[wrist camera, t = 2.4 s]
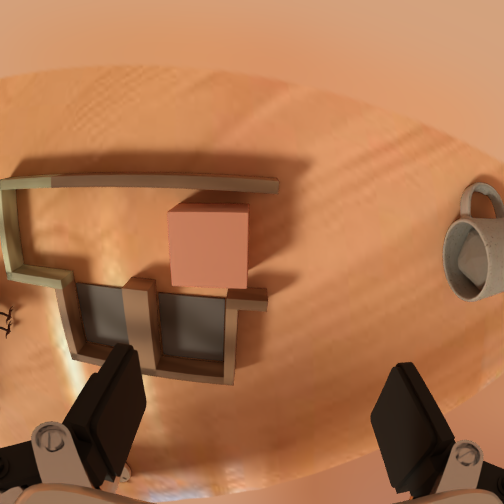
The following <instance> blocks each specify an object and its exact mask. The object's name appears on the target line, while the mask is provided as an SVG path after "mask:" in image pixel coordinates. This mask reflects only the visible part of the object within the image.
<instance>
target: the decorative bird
mask: <svg viewBox="0 0 504 504" xmlns="http://www.w3.org/2000/svg"><path fill="white" fill-rule="evenodd" d="M11 308H12V307H11ZM11 308H10V310H9V314H8V315H7V314H5V313H3V312H0V314H2V315H5V316H7V320H6V323H7V321H8V320H10V318H12V317H11V311H12V310H13V309H12V310H11ZM10 322H11V321H10ZM10 325H11V324H10V323H9V324H8V329H5V328H3V327H0V329H3V330H5V331H7V333H6V336H7V335H8V334H9V333H10V332H11V331H10ZM6 339H7V338H6Z"/></svg>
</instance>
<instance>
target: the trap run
mask: <svg viewBox="0 0 504 504" xmlns="http://www.w3.org/2000/svg"><path fill="white" fill-rule="evenodd" d="M59 187H152V188H184V189H206V190H225V191H241V192H255V193H269V194H278V190H279V180H278V179H277V178H268V177H255V176H240V175H223V174H201V173H169V172H100V173H70V174H50V175H34V176H21V177H10V178H5V179H1V180H0V239H1V246H2V252H3V258H4V264H5V269H6V274H7V279H8V280H12V281H17V282H22V283H28V284H33V285H39V286H44V287H50V288H55V292H56V297H57V302H58V306H59V311H60V315H61V320H62V324H63V328H64V332H65V336H66V339H67V343H68V347H69V350H70V354H71V357H72V359H73V360H77V361H81V362H85V363H89V364H94V365H98V366H102V365H103V363H104V362H105V360H106V359H107V357H108V356H109V354H110V352H111V351H112V349H113V348H114V347H109V346H115V345H116V343H122V344H128V345H132V346H133V348H134V350H137V351H138V355H139V361H140V368H141V374H144V375H150V376H156V377H163V378H169V379H177V380H184V381H192V382H201V383H211V384H221V385H233V386H234V375H235V360H236V342H237V325H238V310H248V311H263V312H267V305H268V296H267V289H262V288H248V287H247V289H238V288H228V293H227V298H226V322H225V352H224V362H216V361H223V345H224V314H225V298H214V297H202V296H191V295H180V294H170V293H160V292H159V308H160V321H161V333H162V344H163V353H164V355H171V356H179V357H187V358H196V359H205V360H196V359H187V358H179V357H171V356H164V355H162V354H161V344H160V334H159V323H158V311H157V298H156V281H155V280H152V279H142V278H133V277H131V278H130V280H129V281H128V282H127V283H126V284H125V285H124V286H123V287H122V288H115V287H107V286H99V285H92V284H84V283H76V287H77V293H78V299H79V304H80V310H81V315H82V320H83V324H84V329H85V333H86V338H87V341H88V342H86V338H85V334H84V329H83V325H82V320H81V315H80V310H79V305H78V300H77V294H76V288H75V282H74V275H73V271H71V270H63V269H55V268H47V267H40V266H32V265H25V264H24V260H23V254H22V248H21V241H20V233H19V224H18V214H17V202H16V189H30V188H59ZM89 342H93V343H98V344H103V345H108V346H103V345H98V344H93V343H89ZM206 360H216V361H206Z"/></svg>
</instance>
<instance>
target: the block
mask: <svg viewBox="0 0 504 504" xmlns="http://www.w3.org/2000/svg"><path fill="white" fill-rule="evenodd" d="M167 218H168V238H169V254H170V268H171V280H172V286H183V287H208V288H238V289H247V278H248V241H249V204H226V203H179V204H178V205H176V206H175V207H173V208H172V209H171V210H169V211H168V212H167Z"/></svg>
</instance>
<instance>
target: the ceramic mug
mask: <svg viewBox="0 0 504 504" xmlns="http://www.w3.org/2000/svg"><path fill="white" fill-rule="evenodd" d="M474 191H475V192H480V193H483V194H484V195H487V196H488V197H489V198H490V200H491V202H492V204H493V207H494V210H495V214H496V218H495V219H491V218H489V219H487V218H472V216H471V197H472V194H473V192H474ZM443 266H444V271H445V275H446V279H447V281H448V284H449V285H450V287H451V289H452V290H453V292H454V293H455V294H456V295H457V296H458V297H459V298H460V299H462V300H464V301H467V302H474V301H478V300H481V299H484V298H487V297H490V296H493V295H496V294H498V293H501V292H504V205H503V202H502V200H501V197H500V195H499V194H498V192H497V191H496V190H495V189H494V188H493V187H492V186H490V185H489V184H487V183H482V182H477V183H474V184H472V185H471V186H469V187H467V188H466V189H465V191H464V192H463V194H462V197H461V202H460V219H458V220H456V221H455V222H454V223H453V224H452V225H451V226H450V227H449V229H448V231H447V233H446V236H445V240H444V245H443Z"/></svg>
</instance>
